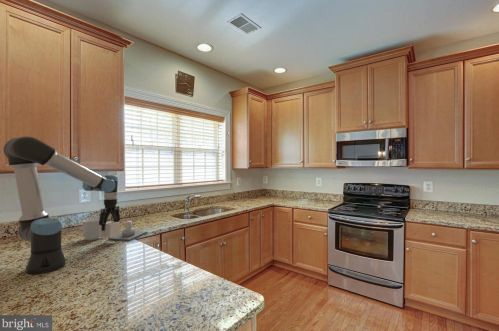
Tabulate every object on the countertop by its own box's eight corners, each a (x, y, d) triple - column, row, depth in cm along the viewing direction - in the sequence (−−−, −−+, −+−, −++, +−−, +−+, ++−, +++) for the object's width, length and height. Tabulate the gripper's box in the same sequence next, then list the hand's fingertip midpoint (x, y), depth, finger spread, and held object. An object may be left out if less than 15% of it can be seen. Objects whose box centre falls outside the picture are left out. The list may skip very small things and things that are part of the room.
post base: (129, 241, 163) (129, 225, 163) (108, 239, 166) (108, 224, 166) (147, 233, 182) (147, 219, 182) (128, 231, 185) (128, 218, 185)
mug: (106, 234, 177) (106, 216, 177) (109, 238, 169) (109, 219, 169) (81, 238, 168) (81, 219, 168) (83, 242, 159) (83, 222, 159)
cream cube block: (110, 238, 154) (110, 224, 154) (98, 237, 156) (99, 223, 156) (119, 234, 162) (120, 222, 163) (108, 234, 164) (109, 221, 164)
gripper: (102, 200, 149) (101, 238, 148) (126, 197, 169) (125, 230, 169) (92, 200, 150) (91, 237, 149) (117, 196, 171) (116, 229, 170)
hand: (109, 233), depth 159 cm, fingers closed on cream cube block, 8 cm apart
